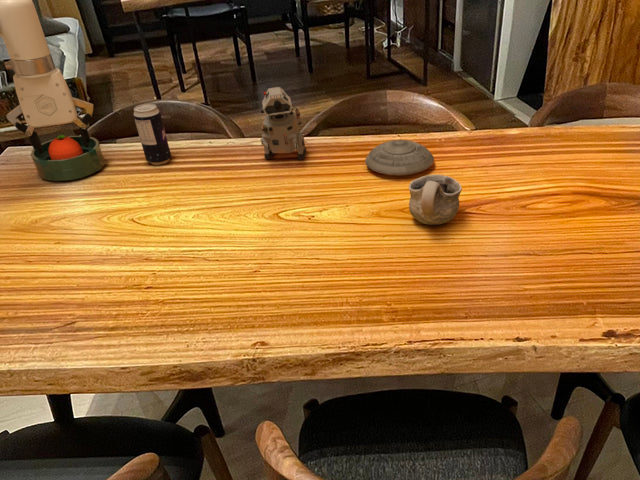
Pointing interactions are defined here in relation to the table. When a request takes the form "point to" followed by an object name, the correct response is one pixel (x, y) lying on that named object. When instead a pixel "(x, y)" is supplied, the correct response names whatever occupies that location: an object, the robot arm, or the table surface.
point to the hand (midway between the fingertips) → (64, 148)
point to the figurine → (281, 125)
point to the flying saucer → (399, 158)
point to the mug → (434, 199)
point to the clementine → (64, 148)
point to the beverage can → (152, 134)
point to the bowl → (69, 162)
